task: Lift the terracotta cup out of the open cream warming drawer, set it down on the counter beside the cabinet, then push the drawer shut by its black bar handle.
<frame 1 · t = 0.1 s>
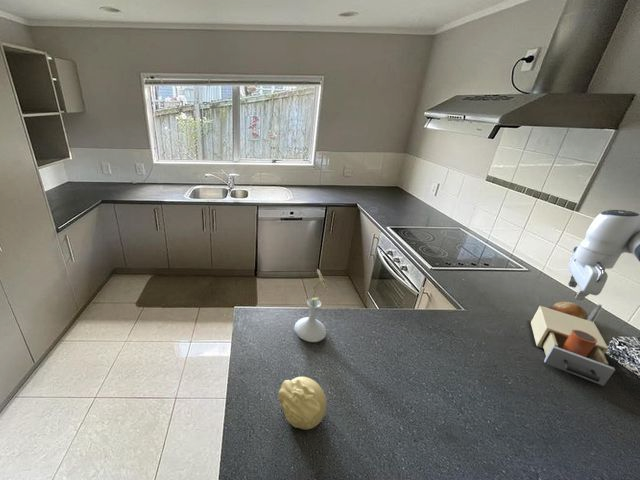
hand: (574, 292, 97), 21 cm above the worktop, tool pointing down, fingers open, 8 cm apart
drawer: (573, 356, 92), point 4 cm above the worktop, slide at 8.5 cm, touching cup
flower in vase: (309, 332, 103), on the worktop
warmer: (559, 343, 103), on the worktop
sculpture: (301, 414, 75), on the worktop
cup: (569, 358, 94), point 2 cm above the worktop, touching drawer
screw: (583, 331, 109), on the worktop
bread roll: (567, 317, 117), on the worktop
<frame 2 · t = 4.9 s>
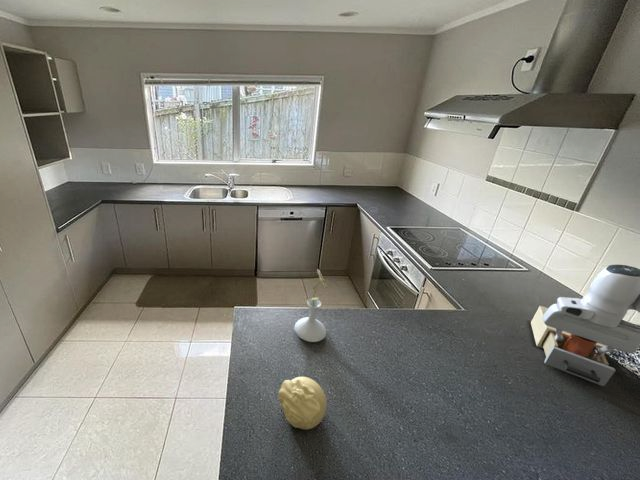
hand: (576, 346, 92), 8 cm above the worktop, tool pointing down, fingers closed on drawer, 8 cm apart
drawer: (574, 356, 92), point 4 cm above the worktop, slide at 8.8 cm, touching cup, gripper
everything else where it was.
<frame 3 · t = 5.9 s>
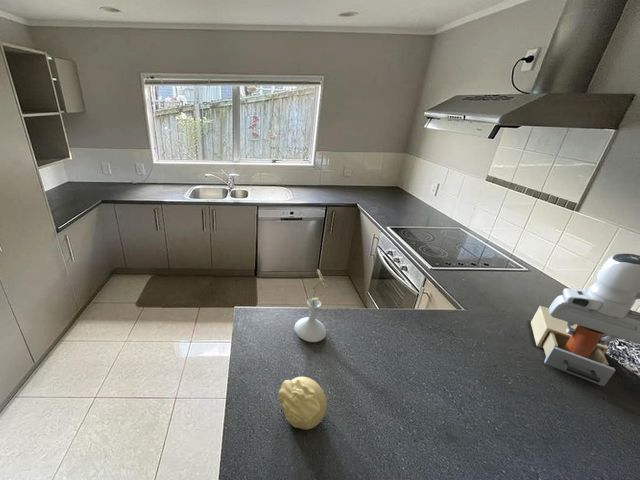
hand: (584, 338, 90), 11 cm above the worktop, tool pointing down, fingers closed on cup, 5 cm apart
drawer: (574, 356, 92), point 4 cm above the worktop, slide at 8.8 cm
cup: (576, 351, 92), point 6 cm above the worktop, touching gripper
everything else where it was.
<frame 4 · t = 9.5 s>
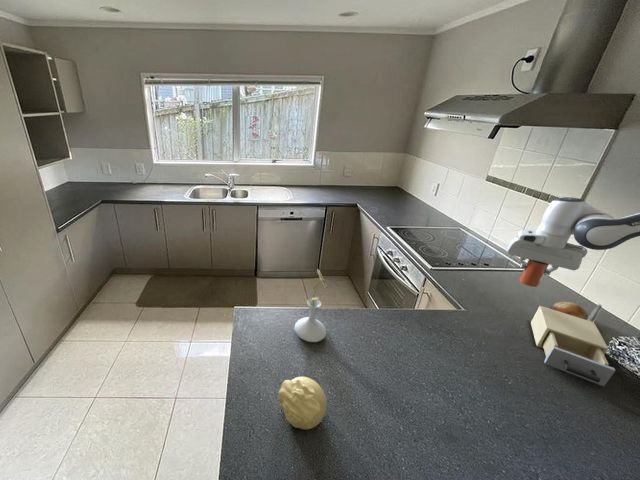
hand: (534, 270, 109), 21 cm above the worktop, tool pointing down, fingers closed on cup, 5 cm apart
cup: (528, 282, 111), point 16 cm above the worktop, touching gripper
everything else where it was.
when the fingers open (5 cm above the worktop, at t = 13.2 s): cup stays where it is, on the worktop.
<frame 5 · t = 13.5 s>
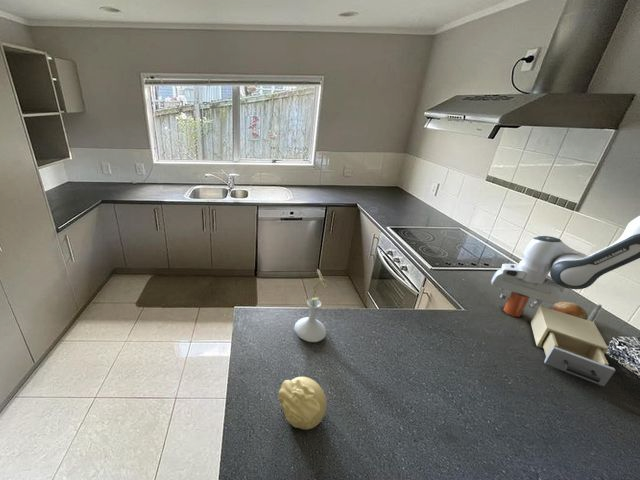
hand: (516, 302, 116), 5 cm above the worktop, tool pointing down, fingers open, 8 cm apart
cup: (511, 312, 118), on the worktop
everything else where it was.
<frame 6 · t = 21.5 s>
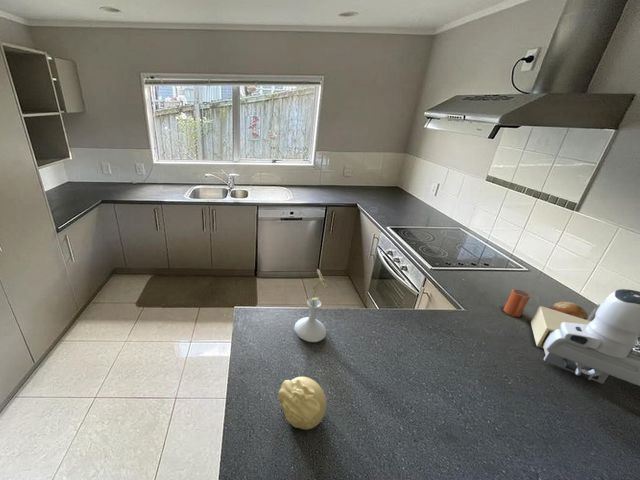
hand: (582, 375, 85), 4 cm above the worktop, tool pointing down, fingers closed
drawer: (573, 354, 93), point 4 cm above the worktop, slide at 7.6 cm, touching gripper
everything else where it was.
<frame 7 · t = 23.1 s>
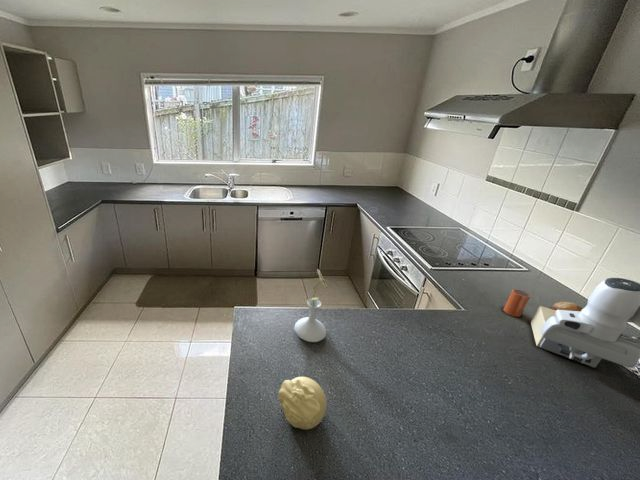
hand: (575, 359, 91), 4 cm above the worktop, tool pointing down, fingers closed, pressing on drawer
drawer: (567, 340, 98), point 4 cm above the worktop, slide at 0.0 cm, touching gripper, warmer
everything else where it was.
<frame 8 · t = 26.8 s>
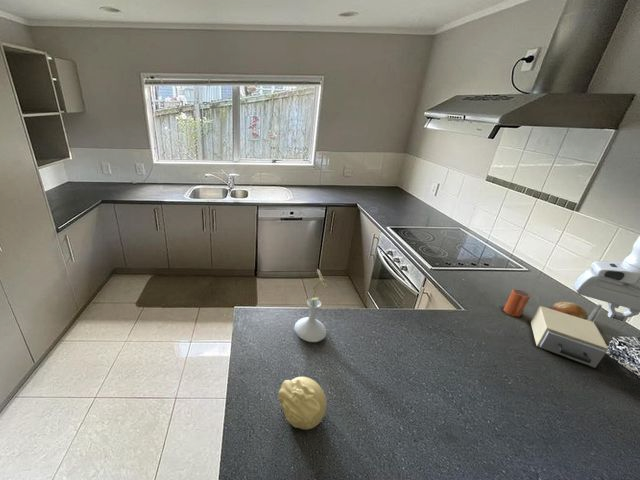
hand: (615, 318, 78), 25 cm above the worktop, tool pointing down, fingers closed
drawer: (567, 340, 98), point 4 cm above the worktop, slide at 0.0 cm, touching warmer
everything else where it was.
at the end: cup inside the target area (0.0 cm from its centre), on the worktop; cup tilted 0°; drawer slide at 0.0 cm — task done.
